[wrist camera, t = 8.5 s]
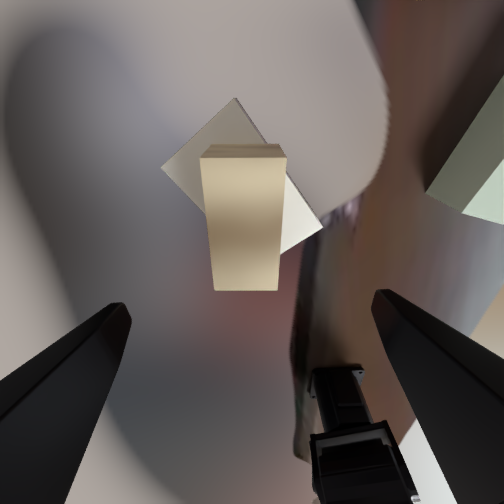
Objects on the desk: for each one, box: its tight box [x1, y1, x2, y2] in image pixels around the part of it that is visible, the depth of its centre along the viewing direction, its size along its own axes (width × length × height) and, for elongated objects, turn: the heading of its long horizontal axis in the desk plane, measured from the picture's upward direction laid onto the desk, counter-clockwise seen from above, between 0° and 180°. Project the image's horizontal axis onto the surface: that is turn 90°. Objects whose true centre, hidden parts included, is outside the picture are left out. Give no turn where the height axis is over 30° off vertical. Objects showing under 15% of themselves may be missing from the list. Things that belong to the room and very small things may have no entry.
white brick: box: [161, 98, 323, 254], centre depth 18 cm, size 10×6×3 cm, turn 38°
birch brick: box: [199, 144, 287, 291], centre depth 15 cm, size 8×4×4 cm, turn 0°
